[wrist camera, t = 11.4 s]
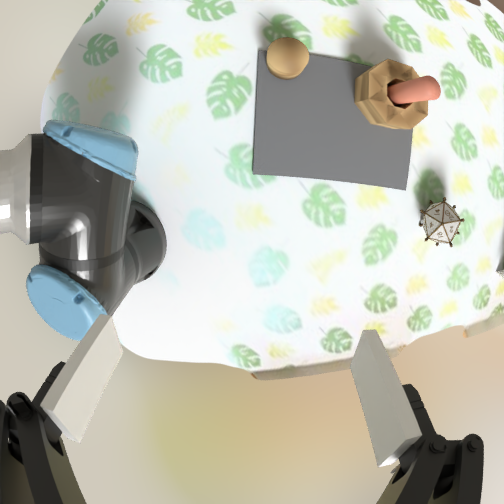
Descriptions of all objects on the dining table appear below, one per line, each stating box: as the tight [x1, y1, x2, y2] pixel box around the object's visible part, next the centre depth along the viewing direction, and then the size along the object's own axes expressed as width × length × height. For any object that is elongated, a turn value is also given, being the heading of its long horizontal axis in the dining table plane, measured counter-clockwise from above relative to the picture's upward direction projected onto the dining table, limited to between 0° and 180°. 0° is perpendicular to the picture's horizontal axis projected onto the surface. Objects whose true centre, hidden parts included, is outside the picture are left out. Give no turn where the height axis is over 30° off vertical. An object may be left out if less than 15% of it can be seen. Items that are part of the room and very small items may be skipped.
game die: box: [419, 197, 464, 247], centre depth 39 cm, size 9×8×10 cm
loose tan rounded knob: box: [266, 37, 309, 80], centre depth 31 cm, size 6×6×5 cm
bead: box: [354, 59, 428, 129], centre depth 32 cm, size 10×10×6 cm
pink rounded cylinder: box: [387, 76, 441, 105], centre depth 28 cm, size 3×3×14 cm
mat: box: [253, 50, 413, 190], centre depth 37 cm, size 26×20×1 cm
